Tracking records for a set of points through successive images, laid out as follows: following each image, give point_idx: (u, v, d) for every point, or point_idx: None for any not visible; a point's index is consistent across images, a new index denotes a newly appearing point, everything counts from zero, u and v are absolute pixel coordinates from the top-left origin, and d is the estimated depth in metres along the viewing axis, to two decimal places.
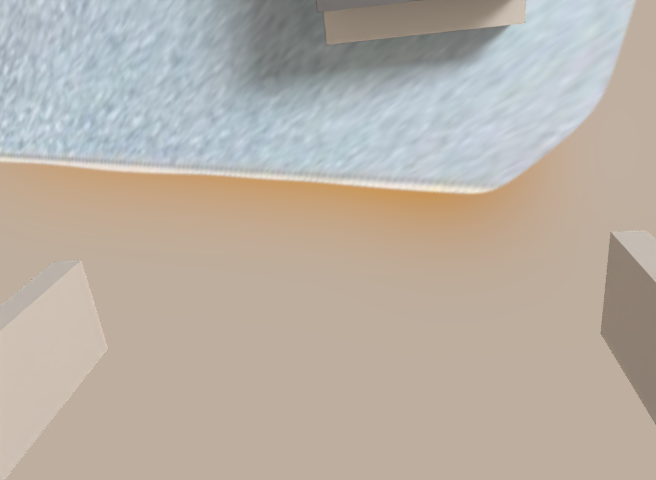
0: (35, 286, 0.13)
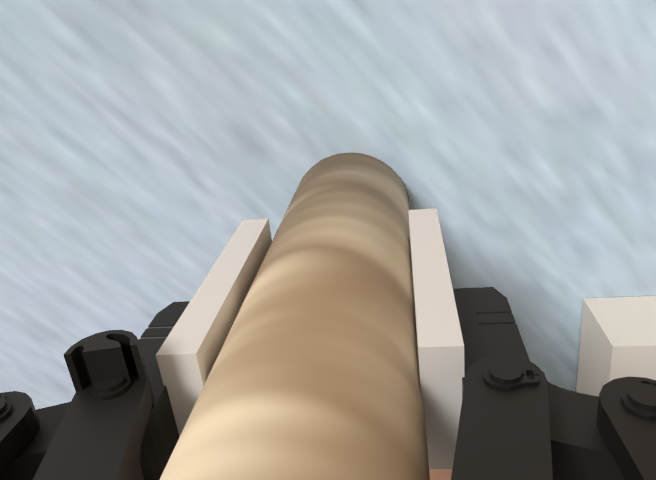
0: (242, 239, 0.15)
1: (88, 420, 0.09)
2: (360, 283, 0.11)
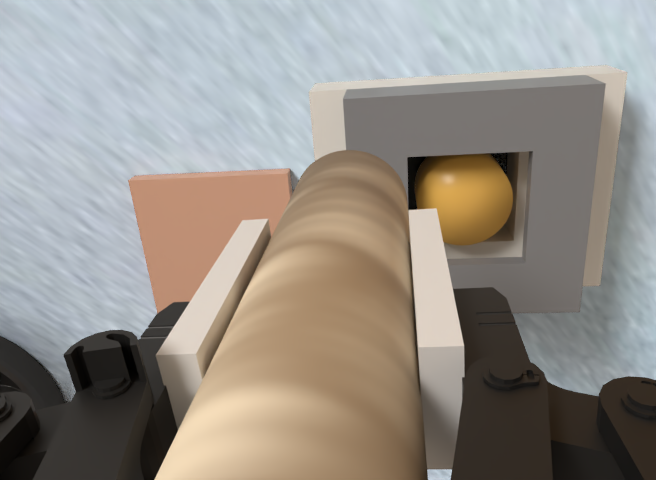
0: (242, 239, 0.15)
1: (88, 420, 0.09)
2: (358, 277, 0.11)
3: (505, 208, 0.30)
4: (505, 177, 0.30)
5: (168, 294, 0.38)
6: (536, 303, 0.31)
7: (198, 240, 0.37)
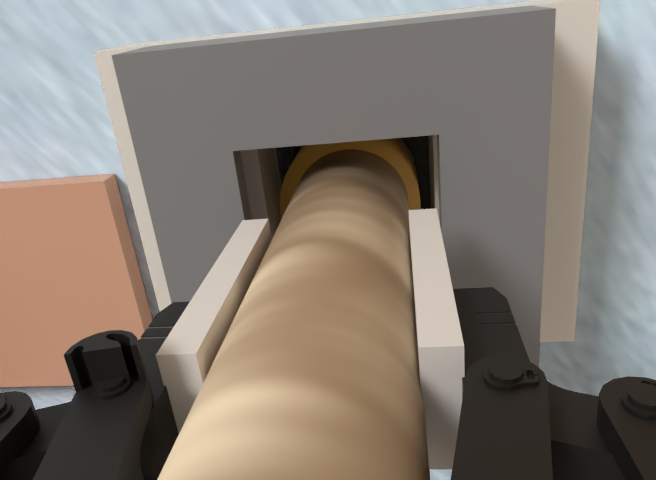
0: (242, 239, 0.15)
1: (88, 420, 0.09)
2: (360, 274, 0.11)
3: None
4: (405, 166, 0.19)
5: None
6: None
7: None
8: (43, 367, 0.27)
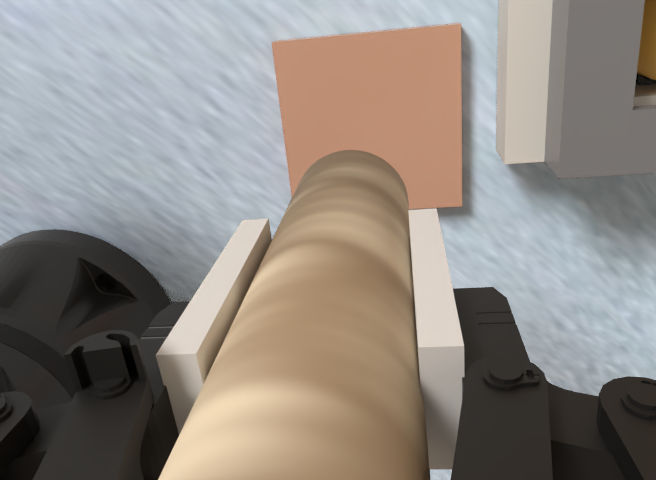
0: (242, 239, 0.15)
1: (88, 420, 0.09)
2: (360, 275, 0.11)
3: None
4: None
5: None
6: None
7: (347, 114, 0.32)
8: None
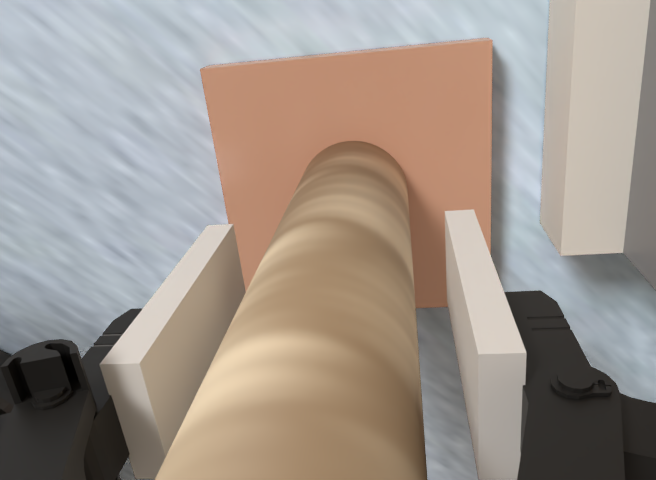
0: (203, 245, 0.15)
1: (28, 431, 0.09)
2: (362, 248, 0.12)
3: None
4: None
5: None
6: None
7: None
8: None
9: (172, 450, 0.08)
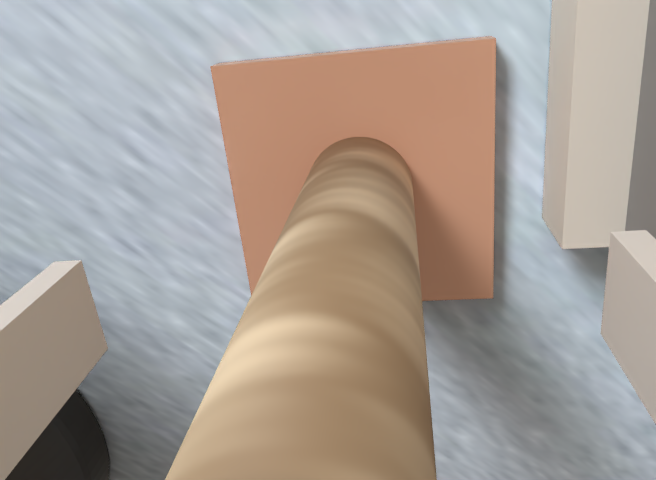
0: (35, 286, 0.13)
1: None
2: (371, 238, 0.13)
3: None
4: None
5: None
6: None
7: None
8: None
9: (196, 422, 0.08)
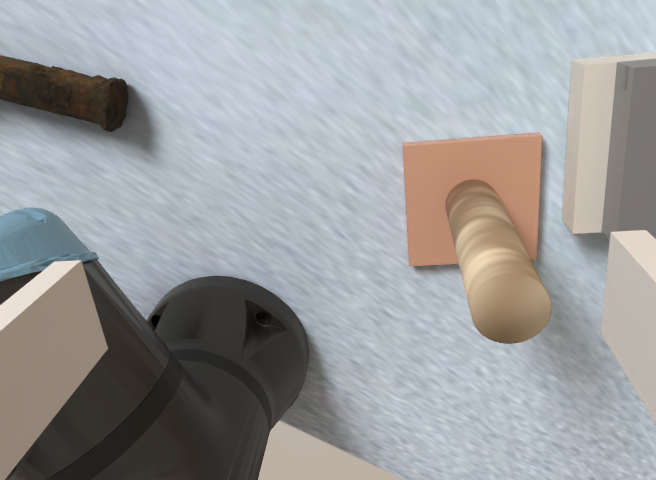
0: (35, 286, 0.13)
1: None
2: (505, 226, 0.35)
3: None
4: None
5: (421, 243, 0.46)
6: None
7: None
8: None
9: (478, 274, 0.30)
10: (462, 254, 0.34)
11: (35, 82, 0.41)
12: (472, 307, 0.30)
